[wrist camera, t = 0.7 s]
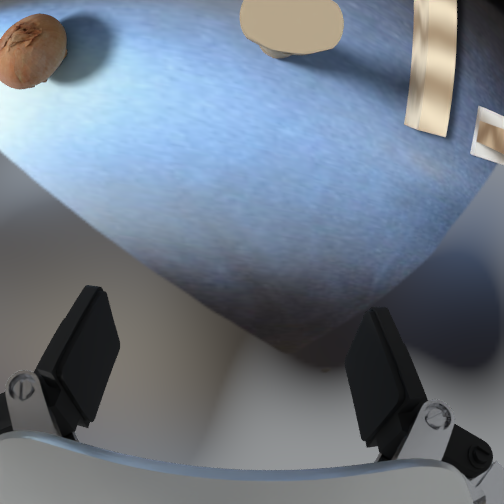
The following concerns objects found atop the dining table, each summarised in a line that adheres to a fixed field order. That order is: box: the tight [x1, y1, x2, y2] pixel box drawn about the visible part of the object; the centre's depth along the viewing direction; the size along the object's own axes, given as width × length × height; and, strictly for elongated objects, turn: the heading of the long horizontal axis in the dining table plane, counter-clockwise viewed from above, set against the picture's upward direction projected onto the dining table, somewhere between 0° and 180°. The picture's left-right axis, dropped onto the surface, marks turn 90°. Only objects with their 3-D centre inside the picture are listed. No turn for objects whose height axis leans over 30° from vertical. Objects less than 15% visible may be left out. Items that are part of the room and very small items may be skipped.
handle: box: [240, 0, 344, 58], centre depth 21 cm, size 5×6×15 cm
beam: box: [404, 0, 457, 137], centre depth 24 cm, size 24×4×4 cm, turn 177°
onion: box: [0, 14, 67, 89], centre depth 22 cm, size 10×9×10 cm
